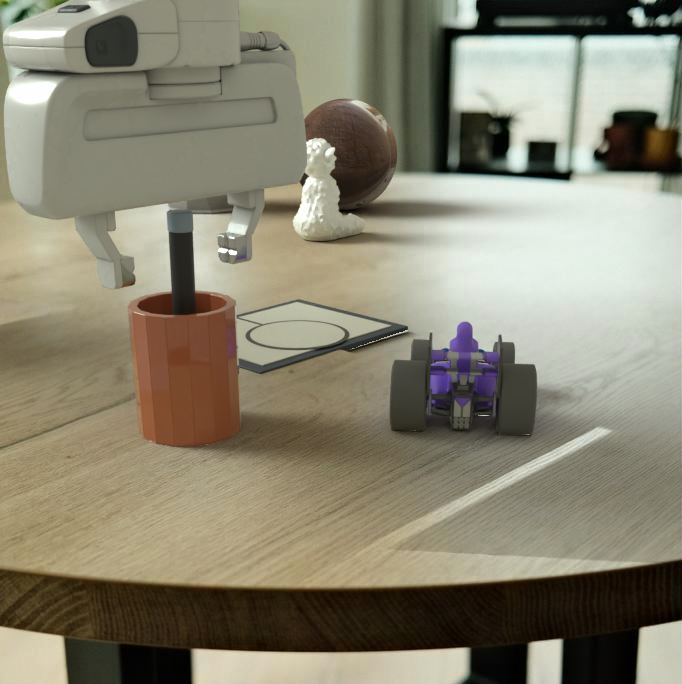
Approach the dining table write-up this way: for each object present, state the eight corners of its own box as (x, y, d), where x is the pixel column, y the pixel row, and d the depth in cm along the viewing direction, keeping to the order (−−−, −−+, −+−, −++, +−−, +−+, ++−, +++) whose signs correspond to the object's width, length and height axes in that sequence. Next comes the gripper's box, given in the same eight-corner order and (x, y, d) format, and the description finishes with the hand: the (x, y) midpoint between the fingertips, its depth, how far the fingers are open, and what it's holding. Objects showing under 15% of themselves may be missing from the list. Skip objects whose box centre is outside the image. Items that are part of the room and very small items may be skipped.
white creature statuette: (366, 232, 133) (367, 134, 128) (350, 245, 126) (350, 142, 120) (296, 228, 135) (294, 132, 130) (277, 241, 128) (274, 140, 122)
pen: (173, 425, 69) (161, 210, 63) (191, 419, 70) (181, 208, 64) (188, 432, 68) (177, 214, 62) (206, 426, 69) (198, 211, 63)
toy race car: (521, 375, 80) (528, 293, 77) (533, 447, 67) (541, 352, 64) (400, 371, 81) (402, 290, 78) (388, 441, 68) (390, 347, 65)
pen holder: (120, 434, 69) (106, 303, 65) (198, 409, 73) (189, 285, 70) (183, 461, 65) (173, 323, 61) (262, 433, 69) (257, 302, 65)
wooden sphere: (391, 219, 141) (394, 103, 135) (285, 217, 143) (282, 102, 136) (399, 201, 155) (402, 95, 148) (302, 199, 156) (300, 94, 150)
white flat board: (150, 343, 88) (149, 335, 88) (298, 304, 100) (298, 297, 99) (260, 379, 79) (260, 370, 79) (408, 332, 91) (408, 324, 91)
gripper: (259, 29, 67) (266, 242, 73) (-27, 33, 54) (10, 293, 60) (328, 31, 63) (329, 255, 69) (38, 35, 50) (71, 313, 56)
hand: (179, 273), depth 64 cm, fingers open, 8 cm apart
